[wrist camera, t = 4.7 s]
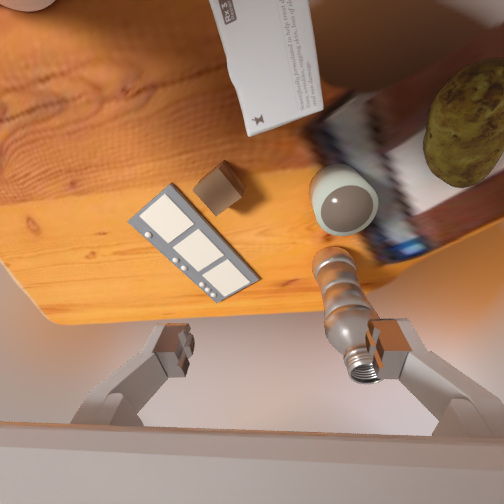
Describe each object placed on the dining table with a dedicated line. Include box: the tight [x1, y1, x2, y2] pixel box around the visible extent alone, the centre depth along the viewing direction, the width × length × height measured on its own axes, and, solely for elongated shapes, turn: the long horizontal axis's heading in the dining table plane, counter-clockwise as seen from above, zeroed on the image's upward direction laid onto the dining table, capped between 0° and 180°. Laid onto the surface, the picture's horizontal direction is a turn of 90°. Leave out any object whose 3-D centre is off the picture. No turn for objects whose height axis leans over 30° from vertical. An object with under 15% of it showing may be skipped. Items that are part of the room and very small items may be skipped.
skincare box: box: [209, 0, 324, 137], centre depth 22 cm, size 8×6×15 cm
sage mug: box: [309, 163, 378, 236], centre depth 32 cm, size 7×7×7 cm
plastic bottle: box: [312, 247, 384, 384], centre depth 33 cm, size 6×7×20 cm
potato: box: [423, 58, 504, 188], centre depth 27 cm, size 8×13×8 cm, turn 7°
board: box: [128, 183, 259, 303], centre depth 42 cm, size 21×10×1 cm, turn 38°
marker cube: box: [193, 160, 245, 216], centre depth 34 cm, size 4×4×4 cm
